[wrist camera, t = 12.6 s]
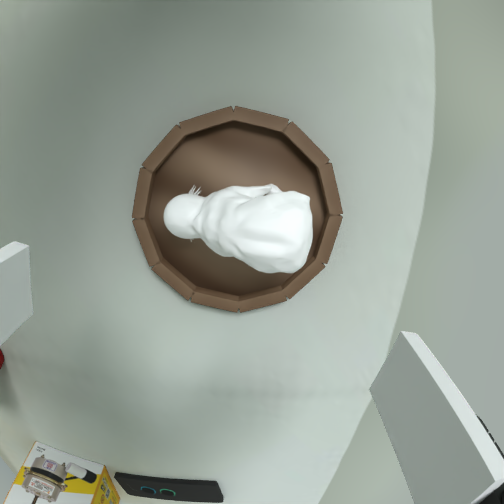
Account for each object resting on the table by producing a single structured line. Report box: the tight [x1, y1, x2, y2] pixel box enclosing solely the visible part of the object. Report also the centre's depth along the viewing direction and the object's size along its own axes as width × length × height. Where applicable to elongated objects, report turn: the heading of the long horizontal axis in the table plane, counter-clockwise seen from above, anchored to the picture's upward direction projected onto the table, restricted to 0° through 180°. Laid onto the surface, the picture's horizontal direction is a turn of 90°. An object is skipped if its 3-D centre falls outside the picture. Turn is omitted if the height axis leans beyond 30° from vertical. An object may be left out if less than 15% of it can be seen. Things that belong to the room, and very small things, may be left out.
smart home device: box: [114, 472, 223, 503], centre depth 45 cm, size 8×2×20 cm
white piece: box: [164, 184, 313, 273], centre depth 25 cm, size 6×8×12 cm
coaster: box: [132, 106, 343, 313], centre depth 28 cm, size 18×18×2 cm
